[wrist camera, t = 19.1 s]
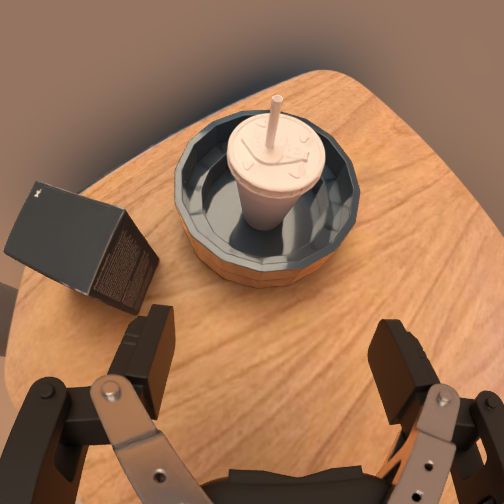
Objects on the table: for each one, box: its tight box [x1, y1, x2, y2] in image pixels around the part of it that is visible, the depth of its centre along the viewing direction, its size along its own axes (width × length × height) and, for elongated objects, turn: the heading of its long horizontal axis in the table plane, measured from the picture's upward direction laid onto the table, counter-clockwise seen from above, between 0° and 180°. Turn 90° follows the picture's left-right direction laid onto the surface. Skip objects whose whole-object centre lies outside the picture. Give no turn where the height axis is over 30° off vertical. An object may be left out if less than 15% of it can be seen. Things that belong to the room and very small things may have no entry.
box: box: [4, 181, 159, 315], centre depth 22 cm, size 8×6×11 cm
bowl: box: [175, 110, 360, 288], centre depth 26 cm, size 14×14×6 cm
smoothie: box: [227, 95, 325, 231], centre depth 22 cm, size 6×6×14 cm
